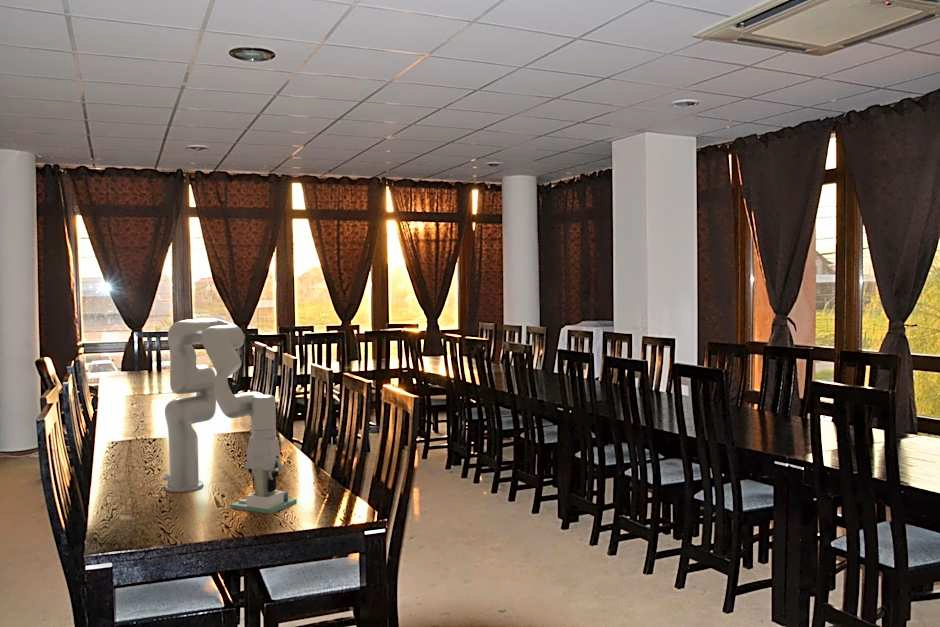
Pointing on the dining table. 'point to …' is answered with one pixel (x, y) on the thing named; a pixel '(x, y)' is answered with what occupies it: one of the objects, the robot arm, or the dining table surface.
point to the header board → (243, 506)
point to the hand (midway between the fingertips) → (264, 489)
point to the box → (261, 483)
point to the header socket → (265, 500)
